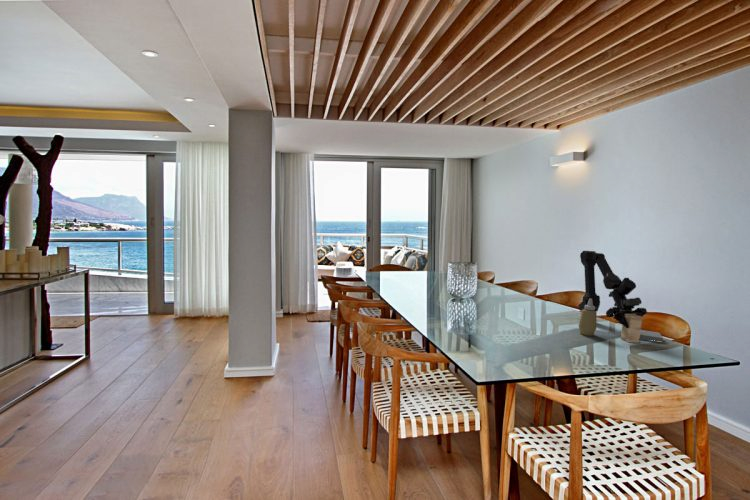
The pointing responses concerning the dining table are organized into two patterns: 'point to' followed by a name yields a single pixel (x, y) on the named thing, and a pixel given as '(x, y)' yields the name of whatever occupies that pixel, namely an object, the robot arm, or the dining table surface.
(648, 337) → the slate base
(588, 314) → the squeeze bottle
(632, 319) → the oak block
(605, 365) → the dining table surface
